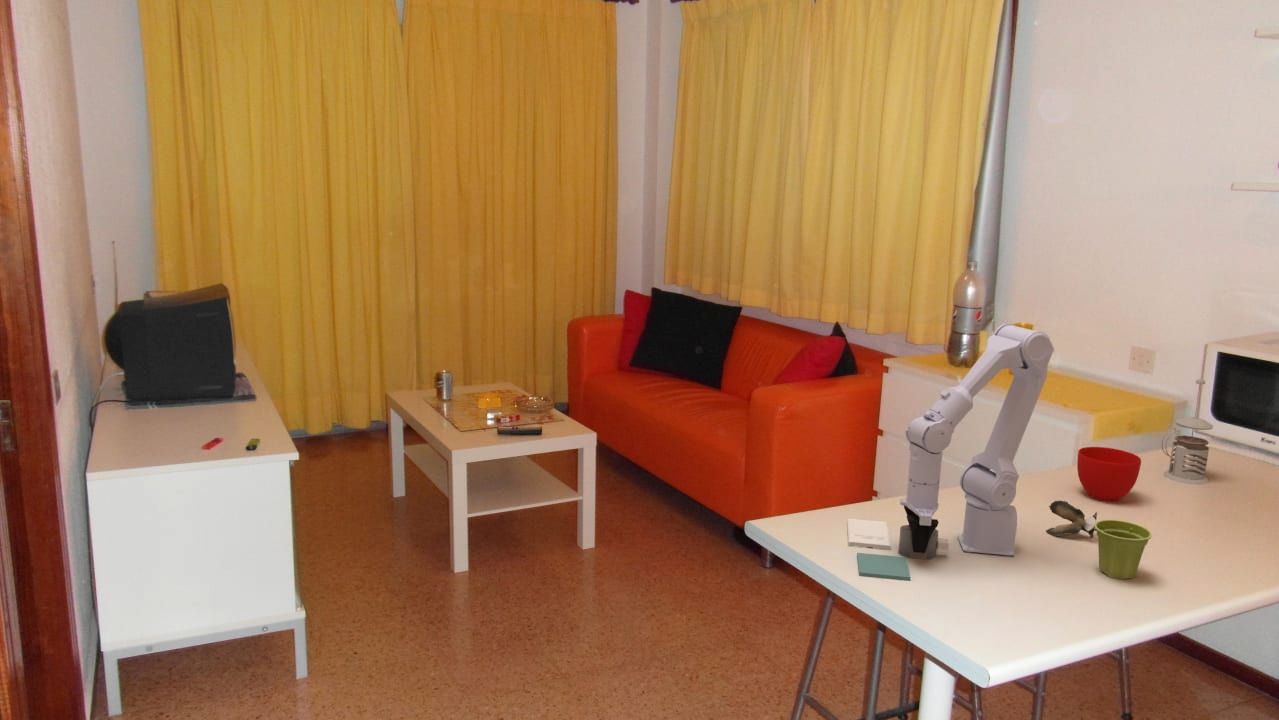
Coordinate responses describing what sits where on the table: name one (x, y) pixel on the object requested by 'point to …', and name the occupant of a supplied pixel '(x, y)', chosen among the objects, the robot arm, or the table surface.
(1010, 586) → the table surface
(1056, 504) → the eagle figurine
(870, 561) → the mat
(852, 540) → the external hard drive
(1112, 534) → the plant pot
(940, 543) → the plug
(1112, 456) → the red bowl
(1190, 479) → the french press
